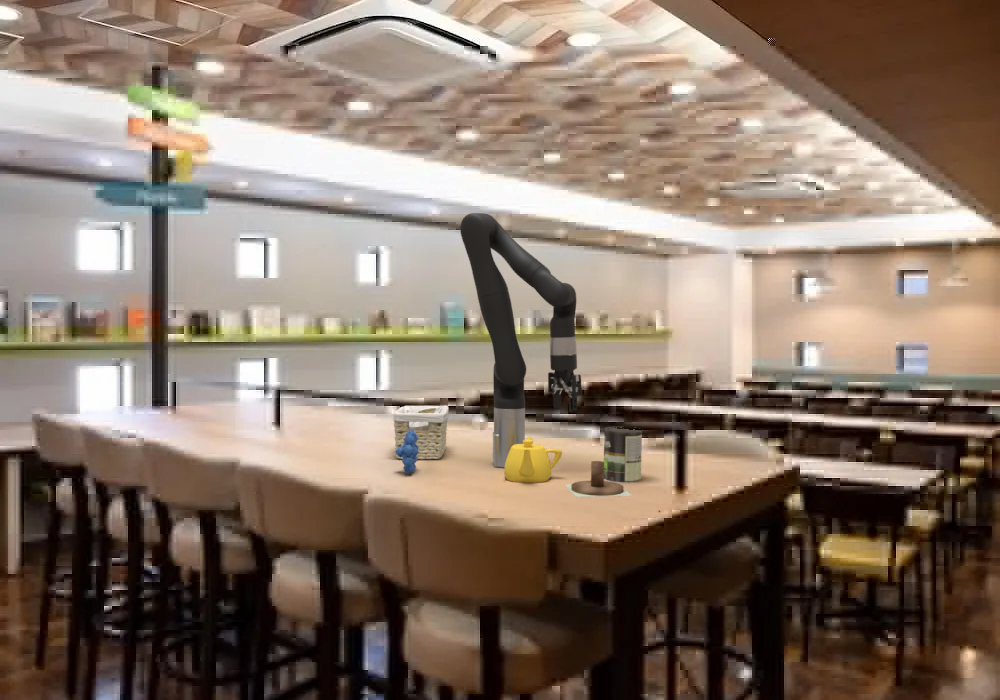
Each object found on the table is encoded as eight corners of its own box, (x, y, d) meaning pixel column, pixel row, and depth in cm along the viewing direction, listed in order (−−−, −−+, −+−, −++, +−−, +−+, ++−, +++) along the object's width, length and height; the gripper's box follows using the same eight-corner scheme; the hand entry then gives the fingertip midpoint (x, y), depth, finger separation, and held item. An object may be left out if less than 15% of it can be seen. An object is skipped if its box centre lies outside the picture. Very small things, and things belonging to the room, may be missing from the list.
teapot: (561, 489, 194) (562, 447, 194) (501, 488, 196) (501, 446, 195) (561, 472, 216) (561, 434, 216) (506, 471, 217) (507, 433, 217)
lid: (577, 496, 184) (577, 467, 184) (566, 484, 197) (567, 457, 197) (629, 495, 186) (630, 466, 185) (615, 483, 199) (616, 457, 198)
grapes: (398, 468, 220) (399, 427, 220) (422, 468, 220) (422, 427, 219) (391, 476, 209) (391, 433, 208) (415, 477, 208) (415, 433, 208)
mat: (575, 499, 184) (575, 496, 184) (564, 486, 198) (564, 484, 198) (632, 498, 185) (632, 495, 185) (617, 485, 199) (617, 483, 199)
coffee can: (605, 484, 200) (606, 431, 200) (601, 476, 211) (601, 426, 210) (644, 485, 200) (645, 432, 200) (638, 477, 210) (639, 426, 210)
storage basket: (401, 448, 257) (401, 404, 256) (449, 448, 257) (449, 404, 256) (391, 460, 233) (392, 412, 232) (444, 461, 233) (445, 413, 232)
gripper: (539, 353, 221) (541, 408, 222) (565, 354, 208) (567, 413, 209) (561, 351, 224) (563, 406, 225) (588, 353, 212) (590, 411, 213)
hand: (565, 409), depth 217 cm, fingers open, 8 cm apart
